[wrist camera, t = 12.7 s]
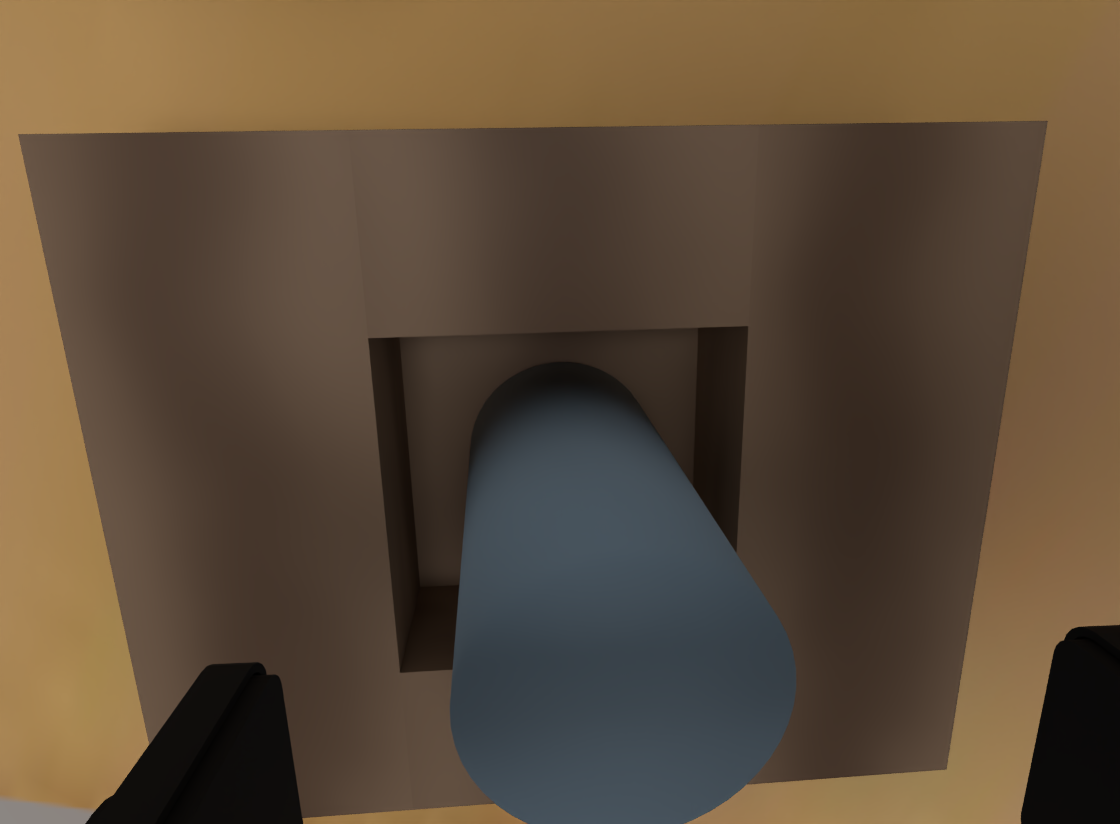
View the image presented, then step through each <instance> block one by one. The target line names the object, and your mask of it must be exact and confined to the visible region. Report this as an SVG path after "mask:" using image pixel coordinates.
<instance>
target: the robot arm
mask: <svg viewBox="0 0 1120 824" xmlns="http://www.w3.org/2000/svg"><path fill="white" fill-rule="evenodd" d="M86 824H303V819H302V813H301V806H300V800H299V793H298V787H297V780H296V774H295V767H294V761H293V754H292V747H291V741H290V734H289V728H288V721H287V715H286V708H285V702H284V695H283V688H282V683H281V680H280V678H279V676H278V675H276V674H273V675H267V673H266V669H265V667H264V666H263V664H261V663H259V662H250V663H226V664H211V665H208V666H206V667H205V669H204V670H203V671H202V672H201V673H200V674H199V676H198V677H197V679H196V680H195V681H194V683H193V684H192V686H191V687H190V688H189V690H188V691H187V693H186V694H185V696H184V697H183V698H182V700H181V701H180V703H179V704H178V705H177V707H176V708H175V710H174V711H173V712H172V714H171V715H170V717H169V718H168V719H167V721H166V722H165V724H164V725H163V726H162V728H161V729H160V731H159V732H158V733H157V735H156V736H155V738H154V739H153V740H152V742H151V743H150V745H149V746H148V747H147V749H146V750H145V752H144V753H143V754H142V756H141V757H140V759H139V760H138V761H137V763H136V764H135V766H134V767H133V768H132V770H131V771H130V773H129V774H128V775H127V777H126V778H125V780H124V781H123V782H122V784H121V785H120V787H119V788H118V789H117V791H116V792H115V794H114V795H113V796H111V797H109V798H108V799H106V800H105V801H104V802H103V803H102V804H101V805H100V806H99V807H98V808H97V809H96V811H95V812H94V813H93V814H92V815H91V817H90V818H89V820H88V821H87V822H86ZM1021 824H1120V625H1111V626H1088V627H1077V628H1074V629H1071V630H1070V631H1069V632H1068V633H1067V634H1066V637H1065V639H1064V641H1060V642H1059V643H1058V644H1057V645H1056V648H1055V650H1054V654H1053V659H1052V664H1051V669H1050V674H1049V679H1048V684H1047V689H1046V694H1045V698H1044V703H1043V708H1042V713H1041V718H1040V723H1039V728H1038V733H1037V738H1036V743H1035V748H1034V753H1033V758H1032V763H1031V768H1030V773H1029V777H1028V782H1027V787H1026V792H1025V797H1024V802H1023V807H1022V812H1021Z"/></svg>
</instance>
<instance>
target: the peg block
mask: <svg viewBox="0 0 1120 824" xmlns="http://www.w3.org/2000/svg"><path fill="white" fill-rule="evenodd" d="M1047 122H1048V121H1010V122H933V123H857V124H780V125H703V126H627V127H550V128H473V129H396V130H320V131H243V132H166V133H89V134H18V135H19V140H20V145H21V149H22V154H23V159H24V163H25V168H26V173H27V177H28V182H29V186H30V191H31V196H32V200H33V205H34V210H35V214H36V219H37V224H38V228H39V233H40V238H41V242H42V247H43V252H44V256H45V261H46V266H47V270H48V275H49V280H50V284H51V289H52V294H53V298H54V303H55V308H56V312H57V317H58V322H59V326H60V331H61V335H62V340H63V345H64V349H65V354H66V359H67V363H68V368H69V373H70V377H71V382H72V387H73V391H74V396H75V401H76V405H77V410H78V415H79V419H80V424H81V429H82V433H83V438H84V443H85V447H86V452H87V457H88V461H89V466H90V471H91V475H92V480H93V484H94V489H95V494H96V498H97V503H98V508H99V512H100V517H101V522H102V526H103V531H104V536H105V540H106V545H107V550H108V554H109V559H110V564H111V568H112V573H113V578H114V582H115V587H116V592H117V596H118V601H119V606H120V610H121V615H122V620H123V624H124V629H125V633H126V638H127V643H128V647H129V652H130V657H131V661H132V666H133V671H134V675H135V680H136V685H137V689H138V694H139V699H140V703H141V708H142V713H143V717H144V722H145V727H146V731H147V736H148V741H149V745H150V743H151V742H152V740H153V739H154V738H155V736H156V735H157V733H158V732H159V731H160V729H161V728H162V726H163V725H164V724H165V722H166V721H167V719H168V718H169V717H170V715H171V714H172V712H173V711H174V710H175V708H176V707H177V705H178V704H179V703H180V701H181V700H182V698H183V697H184V696H185V694H186V693H187V691H188V690H189V688H190V687H191V686H192V684H193V683H194V681H195V680H196V679H197V677H198V676H199V674H200V673H201V672H202V671H203V670H204V669H205V667H206V666H208V665H211V664H226V663H250V662H259V663H261V664H263V666H264V667H265V669H266V673H267V675H273V674H276V675H278V676H279V678H280V680H281V683H282V688H283V695H284V702H285V708H286V715H287V721H288V728H289V734H290V741H291V747H292V754H293V761H294V767H295V774H296V780H297V787H298V793H299V800H300V806H301V813H302V818H309V817H322V816H335V815H348V814H362V813H375V812H388V811H401V810H415V809H428V808H441V807H454V806H468V805H481V804H494V802H493V801H492V800H491V799H490V798H489V797H487V796H486V795H485V794H484V793H483V792H482V791H481V790H480V788H479V787H478V786H477V785H476V784H475V782H474V781H473V780H472V779H471V777H470V776H469V774H468V772H467V771H466V769H465V767H464V766H463V764H462V762H461V760H460V757H459V755H458V752H457V750H456V747H455V745H454V740H453V736H452V731H451V726H450V696H451V684H452V671H453V659H454V646H455V634H456V621H457V609H458V596H459V584H460V571H461V559H462V546H463V534H464V521H465V509H466V496H467V484H468V471H469V459H470V446H471V437H472V432H473V428H474V424H475V422H476V419H477V417H478V414H479V412H480V410H481V409H482V407H483V405H484V404H485V402H486V401H487V400H488V398H489V397H490V396H491V394H492V393H493V392H494V391H495V390H496V389H497V388H498V387H499V386H500V385H502V384H503V383H504V382H506V381H507V380H508V379H510V378H511V377H513V376H515V375H516V374H518V373H520V372H522V371H524V370H527V369H529V368H532V367H535V366H539V365H542V364H548V363H555V362H570V363H579V364H584V365H588V366H592V367H594V368H597V369H599V370H602V371H604V372H606V373H607V374H609V375H611V376H613V377H614V378H615V379H617V380H618V381H619V382H621V383H622V384H623V385H624V386H625V387H626V388H627V389H628V390H629V391H630V392H631V393H632V395H633V396H634V397H635V399H636V400H637V401H638V403H639V404H640V406H641V407H642V409H643V411H644V412H645V414H646V415H647V417H648V418H649V420H650V421H651V423H652V424H653V426H654V427H655V429H656V430H657V432H658V434H659V435H660V437H661V438H662V440H663V441H664V443H665V444H666V446H667V447H668V449H669V450H670V452H671V454H672V455H673V457H674V458H675V460H676V461H677V463H678V464H679V466H680V467H681V469H682V470H683V472H684V473H685V475H686V477H687V478H688V480H689V481H690V483H691V484H692V486H693V487H694V489H695V490H696V492H697V493H698V495H699V497H700V498H701V500H702V501H703V503H704V504H705V506H706V507H707V509H708V510H709V512H710V513H711V515H712V517H713V518H714V520H715V521H716V523H717V524H718V526H719V527H720V529H721V530H722V532H723V533H724V535H725V536H726V538H727V540H728V541H729V543H730V544H731V546H732V547H733V549H734V550H735V552H736V553H737V555H738V556H739V558H740V560H741V561H742V563H743V564H744V566H745V567H746V569H747V570H748V572H749V573H750V575H751V576H752V578H753V580H754V581H755V583H756V584H757V586H758V587H759V589H760V590H761V592H762V593H763V595H764V596H765V598H766V599H767V601H768V603H769V604H770V606H771V607H772V609H773V610H774V612H775V613H776V615H777V616H778V618H779V620H780V622H781V624H782V626H783V627H784V629H785V631H786V633H787V636H788V638H789V641H790V644H791V647H792V650H793V655H794V660H795V666H796V693H795V700H794V706H793V710H792V713H791V716H790V720H789V723H788V726H787V728H786V730H785V732H784V734H783V737H782V739H781V741H780V743H779V744H778V746H777V748H776V749H775V751H774V752H773V754H772V756H771V757H770V759H769V760H768V761H767V762H766V764H765V765H764V766H763V767H762V769H761V770H760V771H759V772H758V773H757V774H756V775H755V776H754V777H753V778H752V779H751V780H750V781H749V782H748V783H747V784H759V783H773V782H786V781H799V780H812V779H826V778H839V777H852V776H865V775H879V774H892V773H905V772H918V771H932V770H945V769H947V762H948V756H949V750H950V743H951V737H952V730H953V724H954V718H955V711H956V705H957V698H958V692H959V686H960V679H961V673H962V666H963V660H964V653H965V647H966V641H967V634H968V628H969V621H970V615H971V609H972V602H973V596H974V589H975V583H976V577H977V570H978V564H979V557H980V551H981V545H982V538H983V532H984V525H985V519H986V513H987V506H988V500H989V493H990V487H991V481H992V474H993V468H994V461H995V455H996V449H997V442H998V436H999V429H1000V423H1001V417H1002V410H1003V404H1004V397H1005V391H1006V384H1007V378H1008V372H1009V365H1010V359H1011V352H1012V346H1013V340H1014V333H1015V327H1016V320H1017V314H1018V308H1019V301H1020V295H1021V288H1022V282H1023V276H1024V269H1025V263H1026V256H1027V250H1028V244H1029V237H1030V231H1031V224H1032V218H1033V212H1034V205H1035V199H1036V192H1037V186H1038V180H1039V173H1040V167H1041V160H1042V154H1043V147H1044V141H1045V135H1046V128H1047Z"/></svg>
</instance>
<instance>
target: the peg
mask: <svg viewBox="0 0 1120 824" xmlns="http://www.w3.org/2000/svg"><path fill="white" fill-rule="evenodd" d="M795 693H796V666H795V660H794V655H793V650H792V647H791V644H790V641H789V638H788V636H787V633H786V631H785V629H784V627H783V626H782V624H781V622H780V620H779V618H778V616H777V615H776V613H775V612H774V610H773V609H772V607H771V606H770V604H769V603H768V601H767V599H766V598H765V596H764V595H763V593H762V592H761V590H760V589H759V587H758V586H757V584H756V583H755V581H754V580H753V578H752V576H751V575H750V573H749V572H748V570H747V569H746V567H745V566H744V564H743V563H742V561H741V560H740V558H739V556H738V555H737V553H736V552H735V550H734V549H733V547H732V546H731V544H730V543H729V541H728V540H727V538H726V536H725V535H724V533H723V532H722V530H721V529H720V527H719V526H718V524H717V523H716V521H715V520H714V518H713V517H712V515H711V513H710V512H709V510H708V509H707V507H706V506H705V504H704V503H703V501H702V500H701V498H700V497H699V495H698V493H697V492H696V490H695V489H694V487H693V486H692V484H691V483H690V481H689V480H688V478H687V477H686V475H685V473H684V472H683V470H682V469H681V467H680V466H679V464H678V463H677V461H676V460H675V458H674V457H673V455H672V454H671V452H670V450H669V449H668V447H667V446H666V444H665V443H664V441H663V440H662V438H661V437H660V435H659V434H658V432H657V430H656V429H655V427H654V426H653V424H652V423H651V421H650V420H649V418H648V417H647V415H646V414H645V412H644V411H643V409H642V407H641V406H640V404H639V403H638V401H637V400H636V399H635V397H634V396H633V395H632V393H631V392H630V391H629V390H628V389H627V388H626V387H625V386H624V385H623V384H622V383H621V382H619V381H618V380H617V379H615V378H614V377H613V376H611V375H609V374H607V373H606V372H604V371H602V370H599V369H597V368H594V367H592V366H588V365H584V364H579V363H570V362H555V363H548V364H542V365H539V366H535V367H532V368H529V369H527V370H524V371H522V372H520V373H518V374H516V375H515V376H513V377H511V378H510V379H508V380H507V381H506V382H504V383H503V384H502V385H500V386H499V387H498V388H497V389H496V390H495V391H494V392H493V393H492V394H491V396H490V397H489V398H488V400H487V401H486V402H485V404H484V405H483V407H482V409H481V410H480V412H479V414H478V417H477V419H476V422H475V424H474V428H473V432H472V437H471V446H470V459H469V471H468V484H467V496H466V509H465V521H464V534H463V546H462V559H461V571H460V584H459V596H458V609H457V621H456V634H455V646H454V659H453V671H452V684H451V696H450V726H451V731H452V736H453V740H454V745H455V747H456V750H457V752H458V755H459V757H460V760H461V762H462V764H463V766H464V767H465V769H466V771H467V772H468V774H469V776H470V777H471V779H472V780H473V781H474V782H475V784H476V785H477V786H478V787H479V788H480V790H481V791H482V792H483V793H484V794H485V795H486V796H487V797H489V798H490V799H491V800H492V801H493V802H494V803H495V804H496V805H498V806H499V807H501V808H502V809H503V810H505V811H506V812H508V813H509V814H511V815H512V816H514V817H516V818H518V819H520V820H522V821H524V822H526V823H528V824H684V823H686V822H689V821H692V820H694V819H696V818H698V817H699V816H701V815H703V814H705V813H707V812H709V811H711V810H713V809H714V808H716V807H717V806H719V805H721V804H722V803H724V802H725V801H727V800H728V799H729V798H731V797H732V796H733V795H734V794H736V793H737V792H738V791H740V790H741V789H742V788H743V787H744V786H745V785H746V784H747V783H748V782H749V781H750V780H751V779H752V778H753V777H754V776H755V775H756V774H757V773H758V772H759V771H760V770H761V769H762V767H763V766H764V765H765V764H766V762H767V761H768V760H769V759H770V757H771V756H772V754H773V752H774V751H775V749H776V748H777V746H778V744H779V743H780V741H781V739H782V737H783V734H784V732H785V730H786V728H787V726H788V723H789V720H790V716H791V713H792V710H793V706H794V700H795Z"/></svg>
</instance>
